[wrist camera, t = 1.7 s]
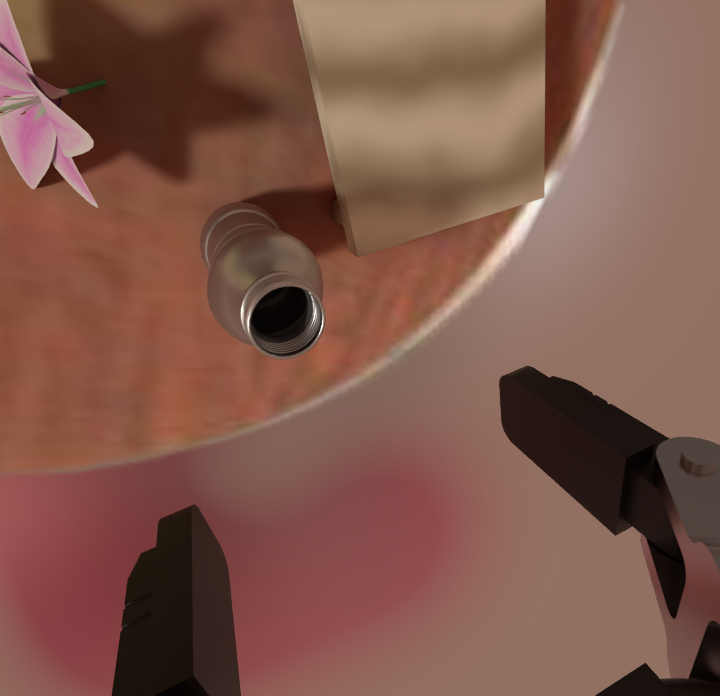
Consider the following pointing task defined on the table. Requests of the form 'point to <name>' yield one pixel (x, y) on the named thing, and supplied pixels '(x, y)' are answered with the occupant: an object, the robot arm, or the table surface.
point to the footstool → (426, 110)
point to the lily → (37, 116)
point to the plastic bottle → (262, 281)
